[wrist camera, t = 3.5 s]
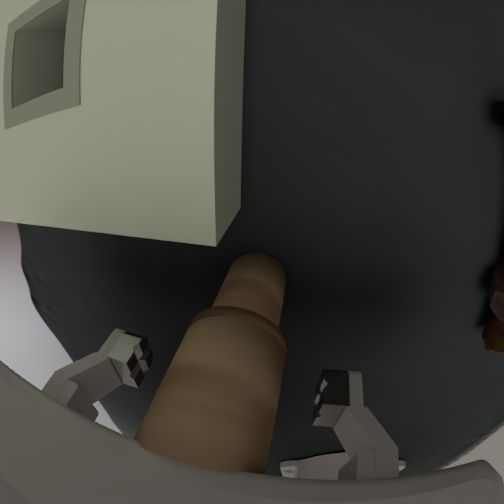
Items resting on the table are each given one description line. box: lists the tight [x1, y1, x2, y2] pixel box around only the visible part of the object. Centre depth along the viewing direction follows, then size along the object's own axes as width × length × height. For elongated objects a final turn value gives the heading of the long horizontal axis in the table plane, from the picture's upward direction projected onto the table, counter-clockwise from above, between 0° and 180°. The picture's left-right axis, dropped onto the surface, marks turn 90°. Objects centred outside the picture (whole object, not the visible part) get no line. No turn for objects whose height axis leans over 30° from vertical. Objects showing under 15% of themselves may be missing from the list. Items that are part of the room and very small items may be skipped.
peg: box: [134, 252, 288, 475], centre depth 11 cm, size 4×4×11 cm
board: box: [0, 0, 246, 247], centre depth 9 cm, size 18×18×4 cm
